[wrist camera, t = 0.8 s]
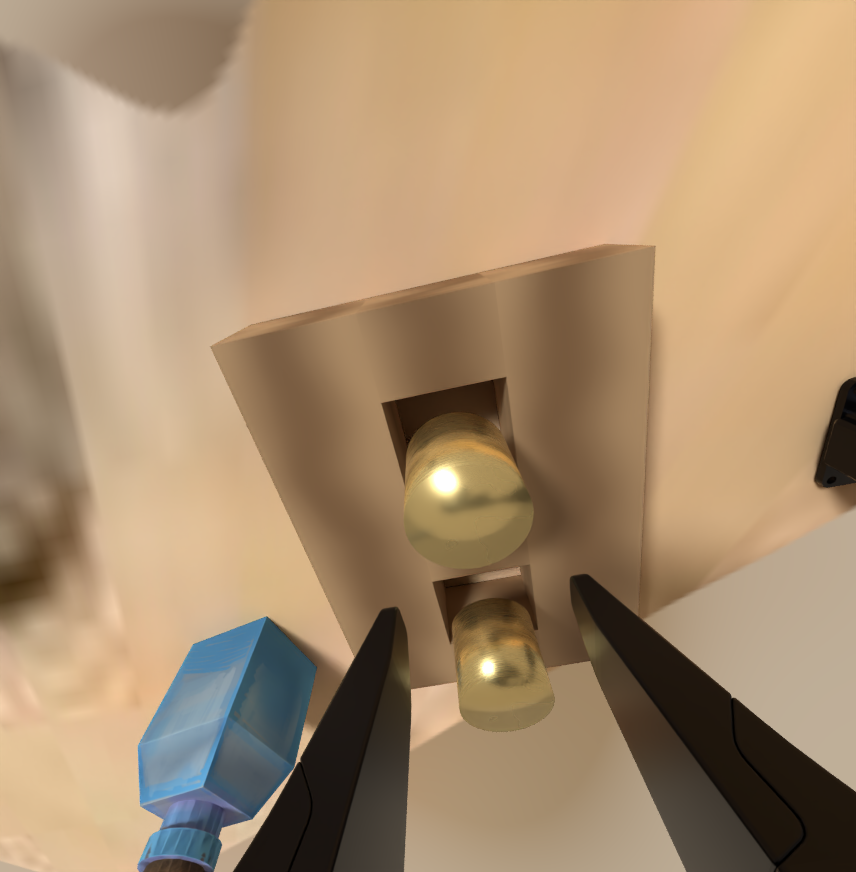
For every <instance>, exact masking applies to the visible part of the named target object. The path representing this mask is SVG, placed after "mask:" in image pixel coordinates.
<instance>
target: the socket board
mask: <svg viewBox="0 0 856 872" xmlns="http://www.w3.org/2000/svg"><path fill="white" fill-rule="evenodd" d="M654 265H655V246H644V245H615V244H603V245H599V246H594V247H590V248H586V249H581V250H577V251H572V252H568V253H564V254H559V255H555V256H550V257H546V258H542V259H537V260H533V261H529V262H524V263H520V264H515V265H511V266H507V267H502V268H498V269H494V270H489V271H485V272H480V273H476V274H472V275H467V276H463V277H459V278H454V279H450V280H445V281H441V282H437V283H432V284H428V285H423V286H419V287H415V288H410V289H406V290H402V291H397V292H393V293H388V294H384V295H380V296H375V297H371V298H367V299H362V300H358V301H353V302H349V303H345V304H340V305H336V306H331V307H327V308H323V309H318V310H314V311H310V312H305V313H301V314H296V315H292V316H288V317H283V318H279V319H275V320H270V321H266V322H261V323H257V324H253V325H250V326H248V327H246V328H244V329H242V330H240V331H238V332H237V333H235V334H233V335H231V336H229V337H227V338H225V339H223V340H222V341H220V342H218V343H216V344H214V345H212V346H210V347H211V349H212V351H213V354H214V356H215V358H216V360H217V362H218V364H219V366H220V369H221V371H222V373H223V375H224V377H225V379H226V382H227V384H228V386H229V388H230V390H231V392H232V394H233V397H234V399H235V401H236V403H237V405H238V407H239V410H240V412H241V414H242V416H243V418H244V420H245V422H246V425H247V427H248V429H249V431H250V433H251V435H252V437H253V440H254V442H255V444H256V446H257V448H258V450H259V453H260V455H261V457H262V459H263V461H264V463H265V465H266V468H267V470H268V472H269V474H270V476H271V478H272V481H273V483H274V485H275V487H276V489H277V491H278V493H279V496H280V498H281V500H282V502H283V504H284V506H285V509H286V511H287V513H288V515H289V517H290V519H291V521H292V524H293V526H294V528H295V530H296V532H297V534H298V536H299V539H300V541H301V543H302V545H303V547H304V549H305V552H306V554H307V556H308V558H309V560H310V562H311V564H312V567H313V569H314V571H315V573H316V575H317V577H318V580H319V582H320V584H321V586H322V588H323V590H324V592H325V595H326V597H327V599H328V601H329V603H330V605H331V607H332V610H333V612H334V614H335V616H336V618H337V620H338V623H339V625H340V627H341V629H342V631H343V633H344V635H345V638H346V640H347V642H348V644H349V646H350V648H351V651H352V653H353V655H354V657H355V656H356V654H357V653H358V651H359V649H360V647H361V645H362V643H363V642H364V640H365V638H366V636H367V634H368V632H369V630H370V629H371V627H372V625H373V623H374V621H375V619H376V618H377V616H378V614H379V612H380V611H381V610H382V609H384V608H389V607H394V606H395V607H398V608H399V610H400V612H401V615H402V618H403V621H404V624H405V626H406V630H407V636H408V652H409V670H410V687H411V689H416V688H422V687H428V686H435V685H441V684H447V683H454V682H457V677H456V667H455V656H454V646H453V635H452V623H453V620H454V618H455V616H456V615H457V614H458V612H459V611H460V610H462V609H463V608H464V607H466V606H467V605H469V604H471V603H473V602H475V601H479V600H482V599H488V598H504V599H509V600H512V601H515V602H517V603H519V604H520V605H522V606H523V607H524V608H525V609H526V610H527V611H528V613H529V615H530V618H531V621H532V625H533V628H534V631H535V634H536V638H537V641H538V644H539V648H540V651H541V654H542V657H543V661H544V664H545V667H546V668H548V667H554V666H561V665H567V664H573V663H579V662H585V661H590V658H589V655H588V652H587V649H586V646H585V643H584V640H583V637H582V634H581V632H580V629H579V626H578V623H577V620H576V617H575V614H574V611H573V608H572V604H571V596H570V582H569V579H570V577H571V576H573V575H578V574H588V575H590V576H591V577H592V578H594V579H595V580H596V581H597V582H598V583H600V584H601V585H602V586H603V587H604V588H605V589H607V590H608V591H609V592H610V593H611V594H613V595H614V596H615V597H616V598H617V599H618V600H620V601H621V602H622V603H623V604H624V605H626V606H627V607H628V608H629V609H630V610H632V611H633V612H634V613H635V614H636V615H637V616H639V594H640V572H641V550H642V528H643V506H644V484H645V462H646V440H647V418H648V396H649V375H650V353H651V331H652V309H653V287H654ZM489 380H493V381H494V388H495V395H496V402H497V409H498V416H499V423H500V431H501V433H502V435H503V437H504V439H505V441H506V443H507V445H508V448H509V450H510V452H511V454H512V457H513V459H514V461H515V463H516V466H517V468H518V470H519V472H520V475H521V477H522V479H523V481H524V484H525V486H526V488H527V490H528V493H529V495H530V497H531V500H532V504H533V509H534V517H533V523H532V526H531V529H530V532H529V534H528V536H527V537H526V539H525V540H524V542H523V543H522V544H521V545H520V546H519V547H518V548H517V549H516V550H515V551H514V552H513V553H511V554H510V555H509V556H507V557H505V558H504V559H502V560H500V561H498V562H496V563H493V564H490V565H487V566H484V567H479V568H472V569H457V568H450V567H445V566H442V565H439V564H436V563H434V562H432V561H430V560H428V559H426V558H425V557H423V556H422V555H421V554H420V553H418V552H417V551H416V550H415V549H414V547H413V546H412V545H411V543H410V542H409V540H408V538H407V535H406V533H405V528H404V497H405V472H406V453H407V448H408V447H407V444H406V440H405V436H404V432H403V429H402V425H401V421H400V417H399V414H398V410H397V406H396V402H395V400H398V399H403V398H407V397H412V396H417V395H422V394H426V393H431V392H436V391H441V390H446V389H450V388H455V387H460V386H465V385H469V384H474V383H479V382H484V381H489ZM519 566H520V571H521V575H518V576H512V577H507V578H501V579H495V580H490V581H484V582H478V583H472V584H467V585H461V586H455V587H450V588H445V586H444V582H443V580H445V579H451V578H457V577H462V576H468V575H474V574H479V573H485V572H491V571H496V570H502V569H508V568H513V567H519Z"/></svg>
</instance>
